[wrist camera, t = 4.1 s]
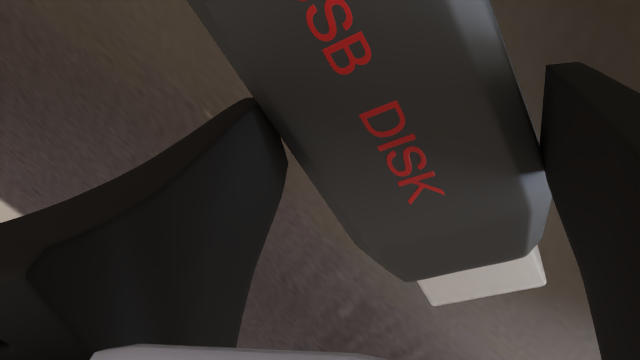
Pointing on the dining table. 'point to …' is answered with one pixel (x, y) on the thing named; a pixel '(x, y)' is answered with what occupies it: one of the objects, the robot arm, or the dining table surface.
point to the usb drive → (402, 131)
